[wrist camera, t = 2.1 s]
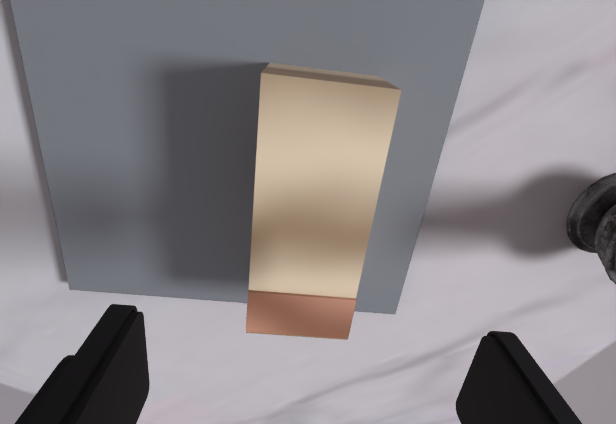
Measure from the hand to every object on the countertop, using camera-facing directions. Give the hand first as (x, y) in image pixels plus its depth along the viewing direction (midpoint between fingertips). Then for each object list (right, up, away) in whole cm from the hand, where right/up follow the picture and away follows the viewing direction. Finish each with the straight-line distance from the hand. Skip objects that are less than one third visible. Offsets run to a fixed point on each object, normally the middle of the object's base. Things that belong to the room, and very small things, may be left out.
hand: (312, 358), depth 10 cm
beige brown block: (0, +5, +9) cm, 11 cm away
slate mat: (-3, +9, +9) cm, 13 cm away
